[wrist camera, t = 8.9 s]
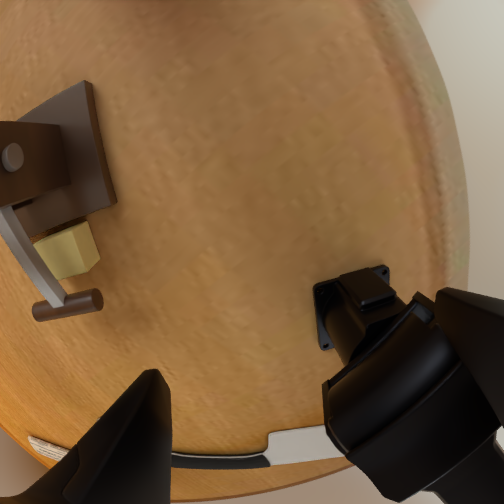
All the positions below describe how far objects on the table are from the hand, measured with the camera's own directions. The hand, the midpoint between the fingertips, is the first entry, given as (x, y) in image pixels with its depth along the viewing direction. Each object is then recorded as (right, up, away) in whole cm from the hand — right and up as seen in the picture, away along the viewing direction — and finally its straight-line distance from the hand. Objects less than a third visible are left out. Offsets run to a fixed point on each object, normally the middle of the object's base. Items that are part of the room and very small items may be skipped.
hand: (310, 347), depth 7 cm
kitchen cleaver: (+3, -22, +21) cm, 31 cm away
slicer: (-17, +9, +8) cm, 20 cm away
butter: (-15, +3, +10) cm, 18 cm away
